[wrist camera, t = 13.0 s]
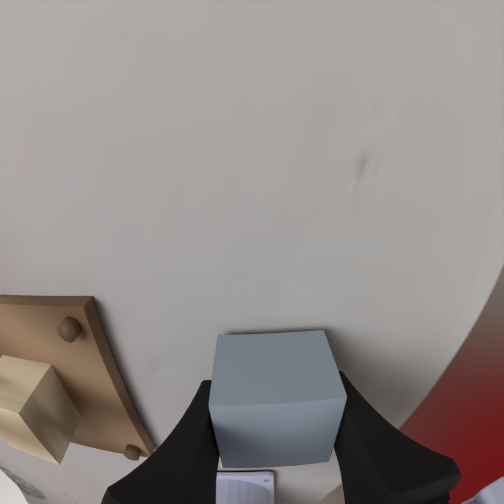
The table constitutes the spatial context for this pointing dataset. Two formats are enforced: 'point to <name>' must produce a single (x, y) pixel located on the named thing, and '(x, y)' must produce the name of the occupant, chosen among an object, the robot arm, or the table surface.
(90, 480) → the table surface
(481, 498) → the robot arm
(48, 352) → the base plate
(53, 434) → the birch block
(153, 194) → the table surface
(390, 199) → the table surface
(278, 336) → the slate block
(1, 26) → the table surface
